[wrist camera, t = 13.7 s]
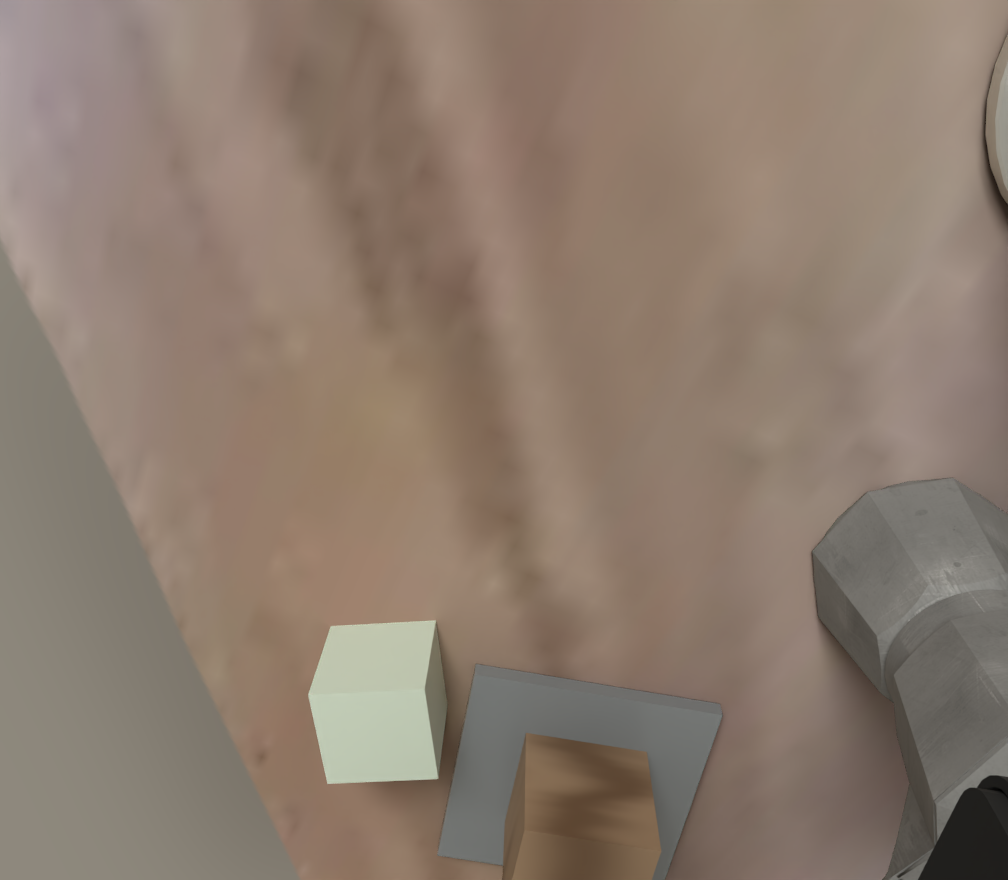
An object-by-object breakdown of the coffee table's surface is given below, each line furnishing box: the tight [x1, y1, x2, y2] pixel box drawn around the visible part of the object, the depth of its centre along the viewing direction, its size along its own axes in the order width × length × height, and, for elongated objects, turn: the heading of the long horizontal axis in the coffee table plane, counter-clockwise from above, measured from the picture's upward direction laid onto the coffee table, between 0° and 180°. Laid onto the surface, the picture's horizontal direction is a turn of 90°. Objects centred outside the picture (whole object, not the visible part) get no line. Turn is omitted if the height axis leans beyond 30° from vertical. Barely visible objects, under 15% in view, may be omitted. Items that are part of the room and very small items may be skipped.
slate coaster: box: [437, 664, 723, 880], centre depth 48 cm, size 12×12×1 cm
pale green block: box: [308, 621, 448, 784], centre depth 44 cm, size 5×5×5 cm
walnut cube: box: [502, 733, 661, 880], centre depth 45 cm, size 6×6×6 cm
